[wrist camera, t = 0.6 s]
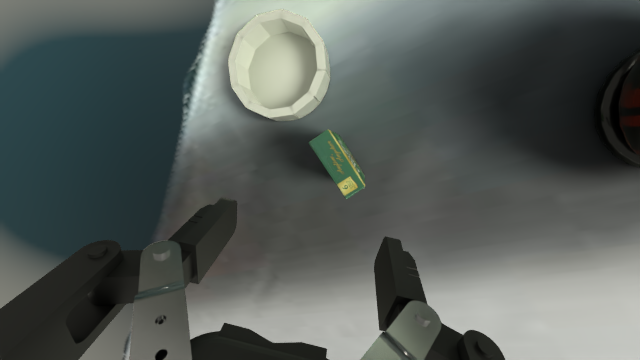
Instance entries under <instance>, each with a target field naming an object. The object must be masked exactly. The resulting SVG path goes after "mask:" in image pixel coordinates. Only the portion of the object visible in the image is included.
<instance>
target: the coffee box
mask: <svg viewBox="0 0 640 360" xmlns="http://www.w3.org/2000/svg"><path fill="white" fill-rule="evenodd" d="M309 144H310V146H311V147H312V149H313V150H314V152H315V153H316V155H317V156H318V158H319V159H320V161H321V162H322V164H323V165H324V167H325V168H326V170H327V171H328V173H329V174H330V176H331V177H332V179H333V180H334V182H335V183H336V185H337V187H338V188H339V190H340V191H341V193H342V194H343V196H344V197H345V198H346V199H348V198H350V197H351V196H352V195H354V194H355V193H357V192H358V191H360V190H361V189H363V188H364V187H365V178H364V173H363V172H362V170H361V168H360V167H359V165H358V163H357V162H356V160H355V158H354V157H353V155H352V154H351V152H350V151H349V149H348V148H347V146H346V144H345V143H344V141H343V140H342V138H341V137H340V135H338V134H336V133H334V132H332V131H330V130H328V129H327V130H326V131H324V132H323V133H321V134H320V135H319V136H317V137H316V138H314V139H313V140H311V141H310V142H309Z"/></svg>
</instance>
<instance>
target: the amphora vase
mask: <svg viewBox="0 0 640 360" xmlns="http://www.w3.org/2000/svg"><path fill="white" fill-rule="evenodd" d="M594 113H595V126H596V129H597V131H598V133H599V136H600V138H601V141H602V142H603V143H604V144H605V146H606V147H607V148H608V149H609V150H610V151H611V153H612V154H614V155H615V156H617V157H618V158H620V159H621V160H623V161H624V162H626V163H628V164H631V165H634V166H637V167H640V49H638V50H637V51H635V52H634V53H633V54H631V55H630V56H628V57H627V58H625V59H624V60H623V61H621V62H620V63H619V64H618V65H617V66H616V68H615V69H614V70H613V71H612V72H611V73H610V74H609V75H608V76H607V78H606V80H605V82H604V84H603V85H602V87H601V89H600V91H599V93H598V96H597V101H596V105H595V109H594Z"/></svg>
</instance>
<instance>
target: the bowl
mask: <svg viewBox="0 0 640 360" xmlns="http://www.w3.org/2000/svg"><path fill="white" fill-rule="evenodd" d="M237 34H238V35H237ZM237 34H236V37H235V40H234V43H233V46H232V49H231V52H230V55H229V58H228V60H229V61H228V65H229V73H230V81H231V86H232V89H233V90H234V91H235V93H236V94H237V96H238V97H239V99H240V100H241V101H242V103H243V104H244V106H245V107H246V108H248V109H250V110H252V111H254V112H256V113H259V114H261V115H263V116H265V117H267V118H270V119H273V120H276V121H292V120H297V119H300V118H302V117H304V116H306V115H308V114H309V113H311V112H312V111H313V110H314V109H316V108H317V106H318V105H319V104H320V103H321V101H322V100H323V98H324V96H325V94H326V92H327V89H328V86H329V82H330V63H329V58H328V52H327V49H326V47H325V44H324V42H323V40H322V38H321V37H320V36H319V34H318V33H317V31H316V30H315V29H314V27H313V26H312V24H311V23H310V22H309V20H308V19H307V18H305V17H303V16H300V15H298V14H295V13H292V12H290V11H287V10H285V9H283V10H282V9H278V10H274V11H270V12H266V13H261V14H257V16H254V17H253V18H252V19H251V20H250V21H249V22H248V23H247V24H246V25H245V26H244V27H243V28H242V29H241V30H240V31H239V32H238V33H237Z"/></svg>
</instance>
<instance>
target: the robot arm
mask: <svg viewBox="0 0 640 360" xmlns="http://www.w3.org/2000/svg"><path fill="white" fill-rule="evenodd" d="M236 223H237V201H235V200H231V199H226V198H221V199H220V200H219V201H218V202H217V203H216V204H215V205H210V204H209V205H207V206H205V207H203V208H201V209H200V210H199V211H197V212H196V213H195V214H194V216H192V217H191V218H190V219H189V220H188V222H186V223H185V224H184V225H183V226H182V227H181V228H180V229H179V230H178V231H177V232H176V233H175V234H174V235H173V236H172V237H171V238H170V239H169V240H165V241H159V242H156V243H153V244H151V245H149V246H148V247H146V248H145V249H144V250H129V251H128V250H127V251H121V247H120V245H119V243H117V242H115V241H111V240H103V241H97V242H94V243H91V244H88V245H86V246H84V247H83V248H81V249H80V250H78V251H77V252H76V253H74V254H73V255H72V256H70V257H69V258H68V259H66V260H65V261H64V262H62V263H61V264H60V265H58V266H57V267H56V268H54V269H53V270H52V271H50V272H49V273H48V274H46V275H45V276H44V277H42V278H41V279H40V280H38V281H37V282H36V283H34V284H33V285H31V286H30V287H29V288H28V289H26V290H25V291H24V292H22V293H21V294H19V295H18V296H17V297H15V298H14V299H13V300H12V301H10V302H9V303H7V304H6V305H5V306H3V307H2V308H1V309H0V360H78V359H79V358H80V357H81V356H82V355H83V354H84V352H85V351H86V350H87V349H88V348H89V347H90V345H91V344H92V343H93V342H94V341H95V340H96V338H97V337H98V336H99V335H100V334H101V333H102V331H103V330H104V329H105V328H106V327H107V325H108V324H109V323H110V322H111V321H112V320H113V319H114V317H115V316H116V315H117V314H118V313H119V312H120V310H121V309H122V308H123V307H124V306H125V305H126V304H127V303H134V308H133V320H132V332H131V345H130V357H129V360H329V359H327V358H326V353H327V349H326V348H322V347H318V346H314V345H310V344H306V343H302V342H296V343H272V342H270V341H269V340H267V339H265V338H263V337H262V336H260V335H258V334H257V333H255V332H253V331H252V330H250V329H247V328H243V327H239V326H235V325H231V324H227V323H224V325H223V327H222V329H221V331H217V332H210V333H206V334H203V335H200V336H197V337H195V338H193V339H191V340H190V332H189V323H188V313H187V303H186V294H185V288H186V287H187V285H188V284H189V283H190V282H192V283H196V284H199V283H200V281H201V280H202V278H203V277H204V275H205V274H206V272H207V271H208V270H209V268H210V267H211V265H212V264H213V262H214V261H215V260H216V258H217V257H218V255H219V254H220V252H221V251H222V250H223V248H224V247H225V245H226V244H227V242H228V241H229V240H230V238H231V237H232V235H233V233H234V231H235V228H236ZM374 273H375V284H376V296H377V308H378V319H379V330H382V331H386V332H385V333H384V332H383V333H382V334H381V335H380V336H379V337H378V338H377V340H376V341H375V342H374V343H373V345H372V346H371V347H370V348H369V350H368V351H367V352H366V353H365V355H364V356H363V357H362V358H361V359H360V360H505V358H504V356H503V354H502V352H501V350H500V349H499V347H498V346H497V345H496V344H495V343H494V342H493V341H492V340H491V339H490V338H489V337H487V336H486V335H484V334H483V333H481V332H478V331H475V330H469V331H467V332H466V333H465V334H464V335H462V334H460V333H458V332H456V331H455V330H453V329H451V328H449V327H447V326H446V325H444V324H442V323H441V321H440V318H439V316H438V315H437V313H436V312H435V311H434V310H433V309H432V308H431V307H430V306H429V305H427V301H426V298H425V294H424V291H423V287H422V284H421V280H420V278H419V274H418V271H417V267H416V263H415V260H414V259H413V257H412V256H411V255H410V253H409V252H406V251H403V249H402V245H401V241H400V240H398V239H394V238H390V237H384V239H383V241H382V244H381V246H380V249H379V251H378V254H377V256H376V259H375V265H374Z"/></svg>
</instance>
